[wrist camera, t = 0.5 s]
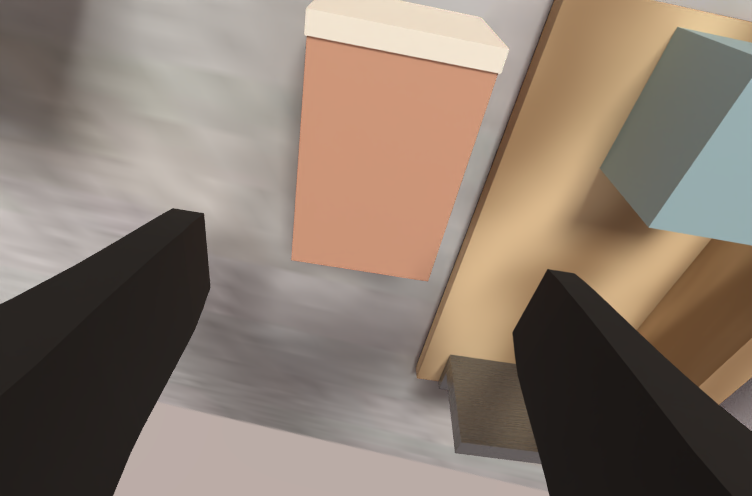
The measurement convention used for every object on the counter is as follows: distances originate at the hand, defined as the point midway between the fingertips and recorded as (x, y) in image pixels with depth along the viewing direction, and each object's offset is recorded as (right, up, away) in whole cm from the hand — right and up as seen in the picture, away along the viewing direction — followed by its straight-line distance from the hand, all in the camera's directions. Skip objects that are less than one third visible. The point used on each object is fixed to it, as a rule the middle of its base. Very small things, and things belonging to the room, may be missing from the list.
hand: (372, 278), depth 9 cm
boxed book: (0, +6, +7) cm, 9 cm away
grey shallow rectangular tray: (+7, -7, +15) cm, 18 cm away
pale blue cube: (+11, +6, +7) cm, 14 cm away
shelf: (+10, 0, +11) cm, 15 cm away
